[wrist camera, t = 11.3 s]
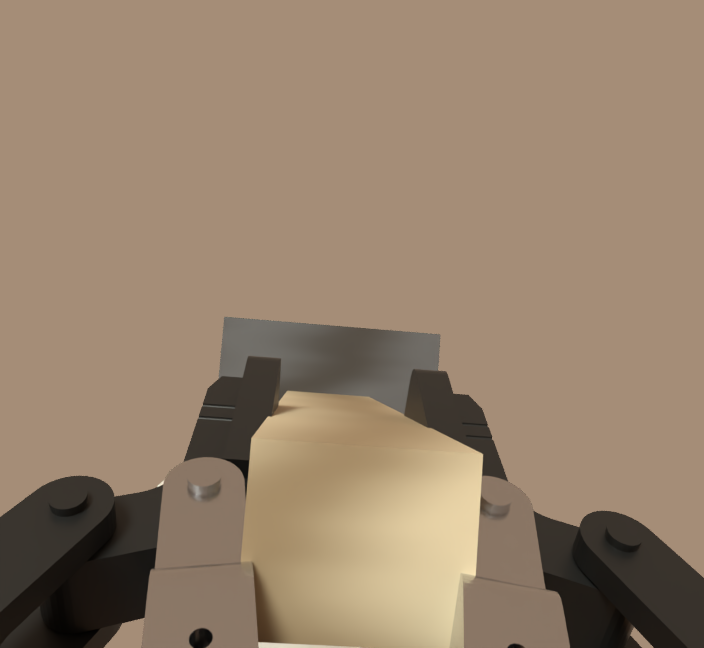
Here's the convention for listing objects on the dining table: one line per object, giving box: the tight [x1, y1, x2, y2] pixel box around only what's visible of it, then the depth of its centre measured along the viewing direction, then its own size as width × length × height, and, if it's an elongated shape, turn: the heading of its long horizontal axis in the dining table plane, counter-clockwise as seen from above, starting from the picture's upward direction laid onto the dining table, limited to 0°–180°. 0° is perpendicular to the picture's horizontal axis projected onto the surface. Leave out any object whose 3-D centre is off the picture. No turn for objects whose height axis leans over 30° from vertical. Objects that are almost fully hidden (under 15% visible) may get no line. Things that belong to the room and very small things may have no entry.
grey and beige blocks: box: [219, 317, 483, 648], centre depth 19 cm, size 8×21×5 cm, turn 4°
